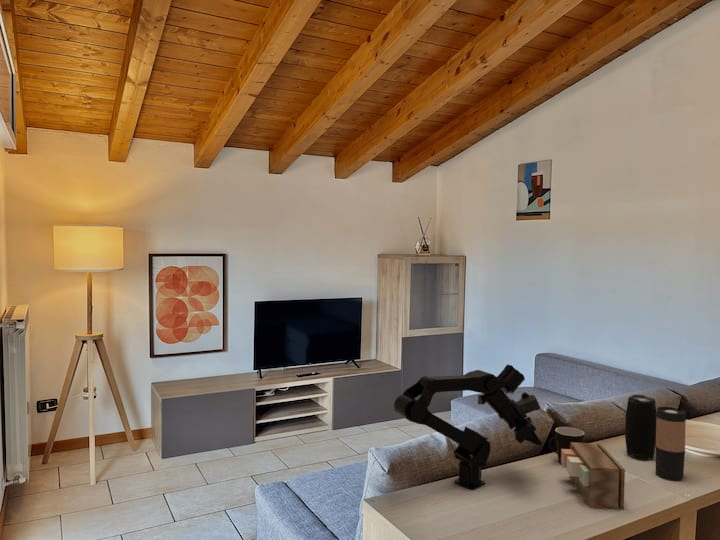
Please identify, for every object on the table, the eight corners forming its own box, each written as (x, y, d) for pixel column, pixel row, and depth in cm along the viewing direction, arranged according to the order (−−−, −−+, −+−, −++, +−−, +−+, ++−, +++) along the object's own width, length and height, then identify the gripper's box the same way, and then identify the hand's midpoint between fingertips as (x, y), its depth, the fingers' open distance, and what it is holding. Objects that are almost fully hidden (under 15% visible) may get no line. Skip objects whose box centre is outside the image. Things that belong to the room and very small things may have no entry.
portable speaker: (662, 460, 174) (663, 400, 173) (638, 462, 171) (639, 402, 171) (641, 450, 182) (643, 393, 181) (618, 452, 180) (620, 395, 179)
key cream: (570, 476, 148) (570, 462, 148) (566, 470, 152) (566, 456, 152) (593, 477, 147) (593, 463, 147) (588, 471, 151) (588, 457, 151)
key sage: (583, 486, 142) (583, 471, 142) (579, 479, 146) (579, 465, 146) (607, 487, 141) (607, 472, 141) (602, 480, 145) (602, 466, 145)
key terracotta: (564, 467, 154) (564, 453, 154) (560, 462, 158) (561, 448, 158) (586, 468, 153) (586, 454, 153) (582, 463, 157) (582, 449, 157)
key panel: (590, 507, 140) (591, 467, 140) (569, 477, 159) (570, 442, 159) (623, 509, 140) (624, 469, 139) (599, 479, 158) (599, 443, 158)
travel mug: (656, 478, 159) (658, 412, 158) (653, 469, 166) (655, 405, 165) (686, 483, 156) (688, 415, 155) (681, 473, 163) (683, 408, 163)
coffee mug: (578, 458, 175) (579, 427, 174) (587, 468, 166) (588, 436, 166) (542, 456, 176) (542, 426, 176) (548, 466, 167) (549, 434, 167)
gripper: (528, 395, 147) (570, 436, 146) (517, 379, 165) (554, 416, 164) (498, 422, 148) (539, 463, 147) (491, 403, 167) (527, 440, 165)
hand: (540, 444), depth 156 cm, fingers closed
